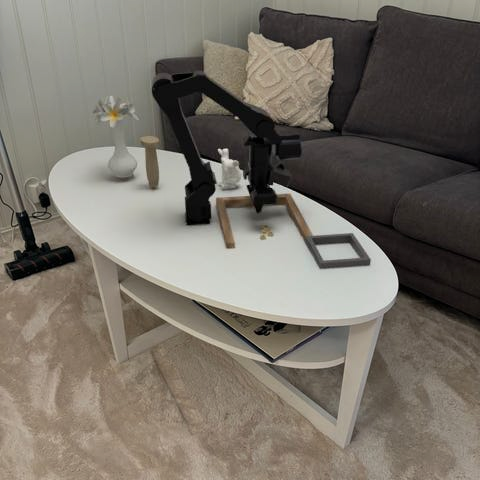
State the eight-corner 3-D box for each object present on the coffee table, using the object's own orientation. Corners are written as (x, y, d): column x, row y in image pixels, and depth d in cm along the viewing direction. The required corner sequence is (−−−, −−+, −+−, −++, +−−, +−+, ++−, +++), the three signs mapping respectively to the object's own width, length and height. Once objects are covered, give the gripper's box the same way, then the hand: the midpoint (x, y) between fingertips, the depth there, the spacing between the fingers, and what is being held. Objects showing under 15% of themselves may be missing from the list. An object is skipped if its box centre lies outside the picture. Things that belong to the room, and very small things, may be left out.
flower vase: (130, 160, 165) (122, 87, 151) (151, 179, 151) (143, 101, 138) (94, 167, 159) (81, 93, 146) (112, 188, 145) (100, 107, 132)
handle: (151, 190, 144) (147, 144, 136) (142, 183, 149) (137, 137, 141) (165, 187, 147) (162, 141, 139) (156, 180, 151) (152, 134, 143)
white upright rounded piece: (211, 185, 148) (210, 149, 142) (228, 179, 152) (228, 144, 146) (228, 194, 143) (228, 157, 136) (245, 188, 146) (245, 152, 140)
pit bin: (319, 274, 108) (320, 263, 107) (305, 246, 118) (306, 236, 117) (368, 270, 110) (370, 259, 108) (351, 243, 120) (352, 233, 118)
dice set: (266, 231, 126) (266, 225, 125) (277, 240, 122) (278, 233, 121) (250, 236, 123) (250, 229, 122) (261, 245, 120) (261, 238, 119)
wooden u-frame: (226, 252, 116) (226, 243, 114) (216, 205, 137) (216, 197, 135) (313, 245, 119) (314, 237, 117) (289, 201, 140) (290, 193, 138)
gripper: (299, 172, 116) (294, 227, 124) (282, 146, 131) (279, 196, 140) (254, 175, 114) (253, 230, 123) (243, 147, 130) (242, 198, 138)
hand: (258, 212), depth 131 cm, fingers closed
